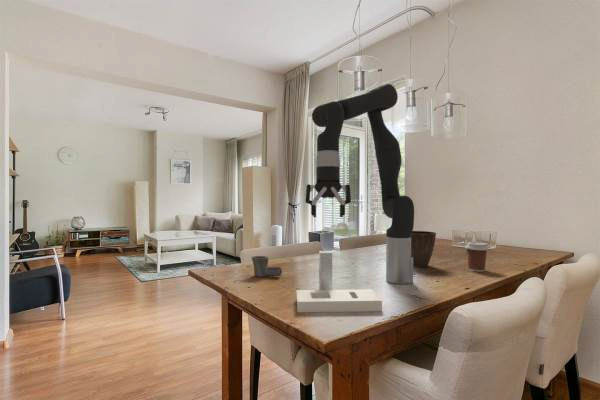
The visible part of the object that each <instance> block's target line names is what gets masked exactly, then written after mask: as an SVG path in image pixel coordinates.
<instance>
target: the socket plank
mask: <svg viewBox="0 0 600 400" xmlns="http://www.w3.org/2000/svg"><path fill="white" fill-rule="evenodd" d="M296 308H297V313H337V312H338V313H339V312H340V313H342V312H343V313H346V312H348V313H349V312H350V313H352V312H353V313H355V312H361V313H363V312H383V300H382V299H381V298H380V297H379V296H378V294H377V293H376V292H374V290H373V289H371V288H370V289H332V290H319V289H304V290H303V289H299V290H298V289H297V290H296Z"/></svg>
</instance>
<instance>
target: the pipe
mask: <svg viewBox="0 0 600 400" xmlns="http://www.w3.org/2000/svg"><path fill="white" fill-rule="evenodd" d="M250 259H251V260H252V265H253V274H254V276H255V277H256V278H257V277H258V278H261V277H281V276H282V274H283V270H282V267H281V266H269V257H268V256H264V255H255V256H251V258H250Z"/></svg>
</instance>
